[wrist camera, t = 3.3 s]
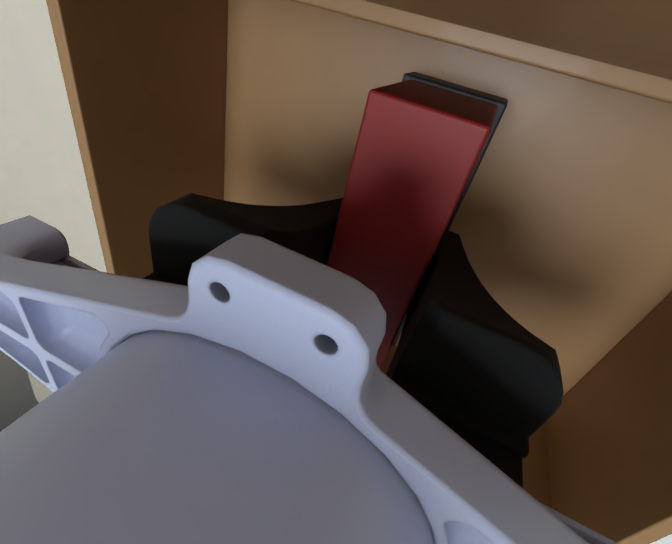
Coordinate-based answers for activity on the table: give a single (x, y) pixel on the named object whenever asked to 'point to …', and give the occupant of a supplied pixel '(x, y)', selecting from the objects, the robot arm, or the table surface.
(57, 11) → the carton
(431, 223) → the stapler
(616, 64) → the flap
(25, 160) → the table surface
